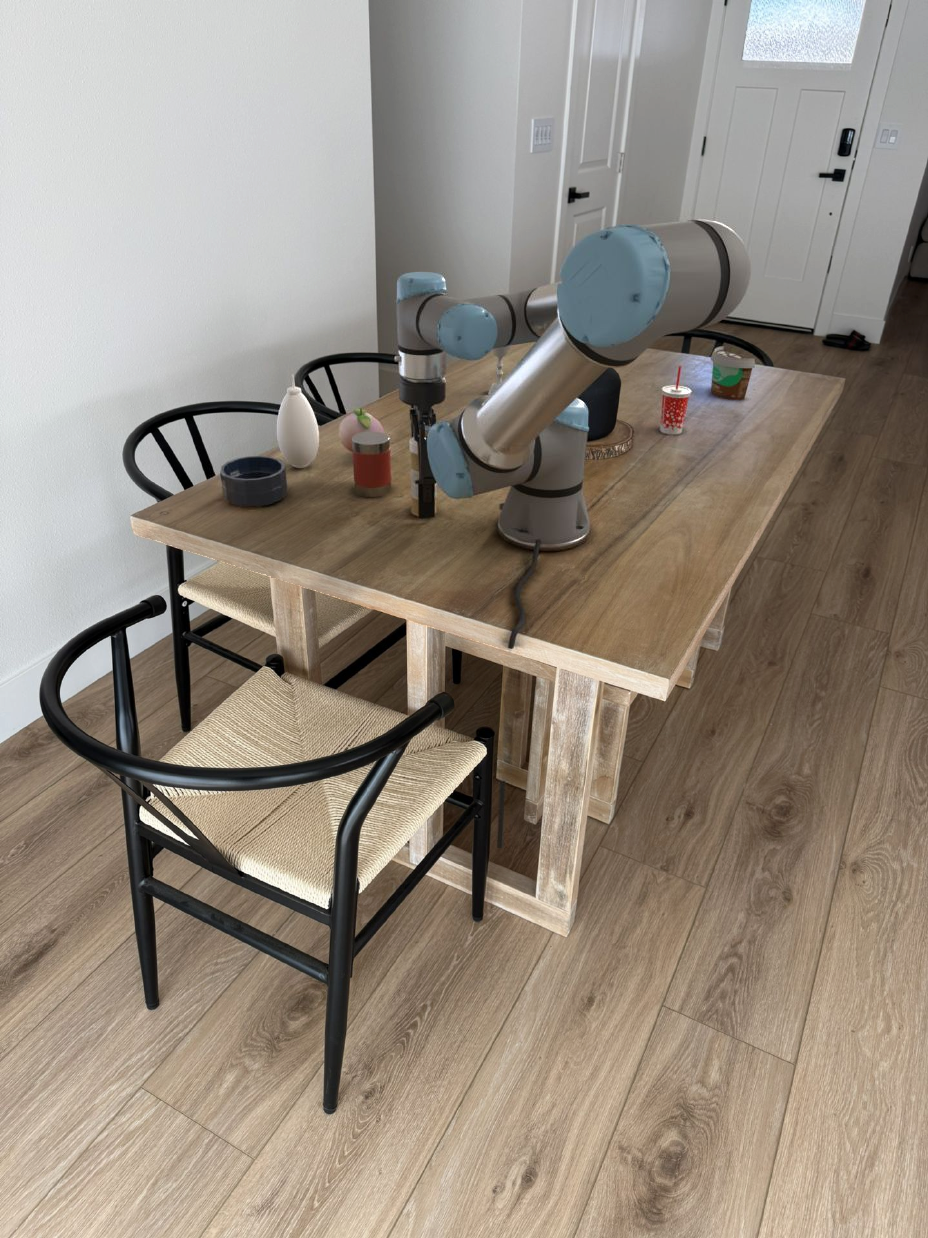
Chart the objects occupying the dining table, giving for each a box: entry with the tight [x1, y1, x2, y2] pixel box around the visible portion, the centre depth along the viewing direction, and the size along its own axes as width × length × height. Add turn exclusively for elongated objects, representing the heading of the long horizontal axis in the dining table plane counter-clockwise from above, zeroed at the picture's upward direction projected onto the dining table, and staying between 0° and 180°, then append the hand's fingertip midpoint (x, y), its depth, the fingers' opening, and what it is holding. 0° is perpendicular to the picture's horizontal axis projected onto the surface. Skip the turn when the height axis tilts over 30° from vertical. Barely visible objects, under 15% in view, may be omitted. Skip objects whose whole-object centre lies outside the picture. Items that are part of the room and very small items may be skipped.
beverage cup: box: [659, 365, 692, 435], centre depth 187 cm, size 6×6×14 cm
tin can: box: [351, 431, 392, 498], centre depth 159 cm, size 7×7×10 cm
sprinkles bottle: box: [408, 437, 438, 517], centre depth 150 cm, size 5×5×13 cm
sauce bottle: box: [276, 373, 320, 469], centre depth 166 cm, size 8×8×18 cm
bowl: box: [219, 455, 289, 508], centre depth 158 cm, size 11×11×6 cm
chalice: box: [487, 345, 512, 395], centre depth 206 cm, size 7×7×18 cm
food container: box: [710, 345, 756, 401], centre depth 210 cm, size 12×6×10 cm, turn 25°
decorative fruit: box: [338, 407, 385, 453], centre depth 173 cm, size 9×8×10 cm
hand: (423, 507), depth 153 cm, fingers open, 7 cm apart
